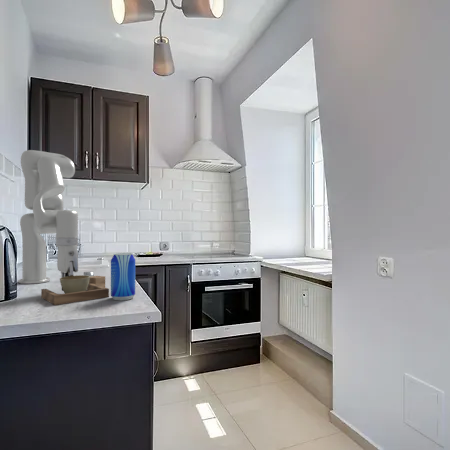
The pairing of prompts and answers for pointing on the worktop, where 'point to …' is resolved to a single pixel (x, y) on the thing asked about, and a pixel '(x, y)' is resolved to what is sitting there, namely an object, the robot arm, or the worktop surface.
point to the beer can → (122, 276)
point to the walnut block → (97, 280)
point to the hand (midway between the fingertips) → (66, 290)
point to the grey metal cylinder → (89, 274)
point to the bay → (75, 295)
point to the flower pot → (74, 283)
